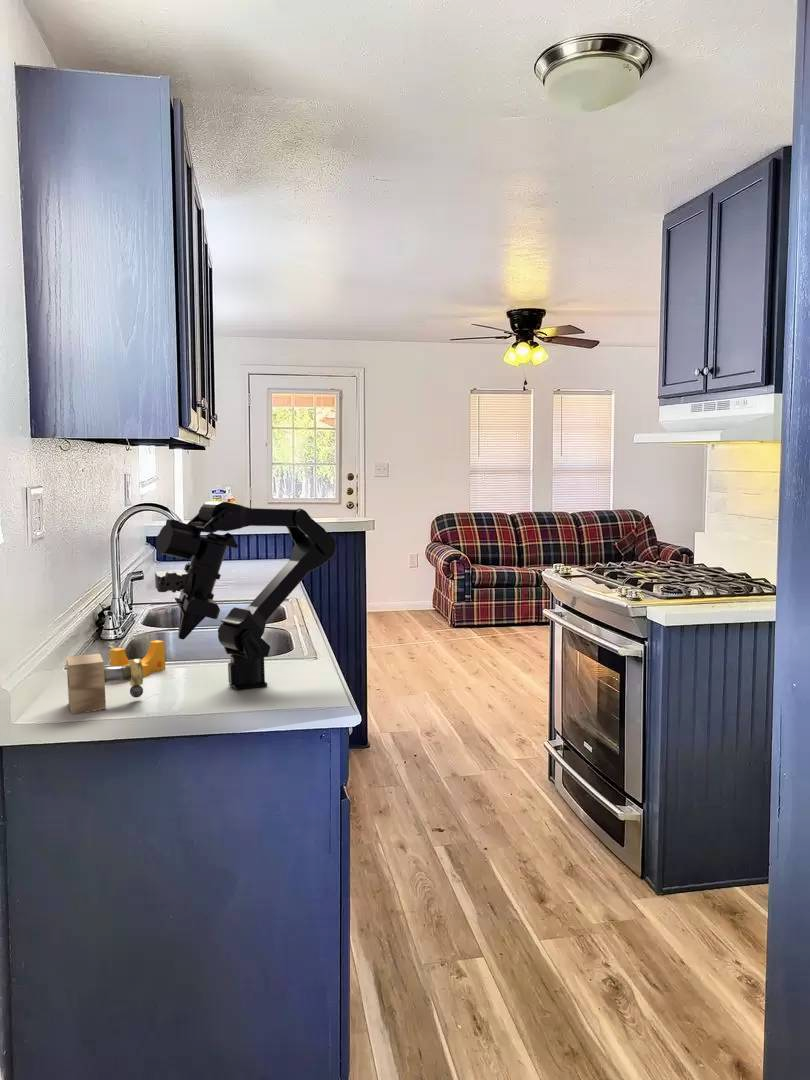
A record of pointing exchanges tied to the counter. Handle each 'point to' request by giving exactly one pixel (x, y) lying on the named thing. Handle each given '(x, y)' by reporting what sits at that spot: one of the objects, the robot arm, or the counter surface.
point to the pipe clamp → (149, 662)
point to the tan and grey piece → (127, 676)
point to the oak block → (86, 683)
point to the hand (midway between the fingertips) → (181, 638)
